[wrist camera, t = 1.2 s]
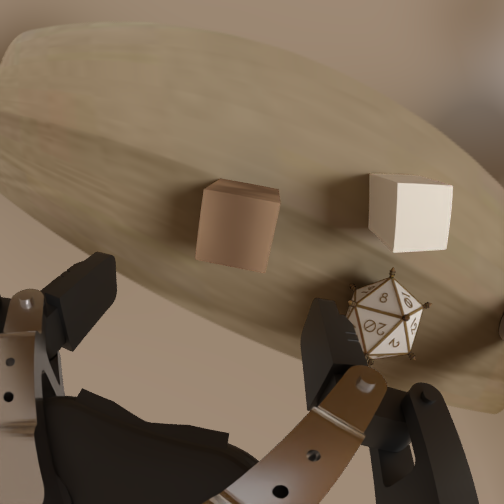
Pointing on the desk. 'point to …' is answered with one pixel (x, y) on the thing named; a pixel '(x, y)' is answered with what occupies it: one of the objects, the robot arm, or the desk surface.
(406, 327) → the game die
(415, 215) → the white block
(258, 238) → the walnut block
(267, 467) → the robot arm
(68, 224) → the desk surface
